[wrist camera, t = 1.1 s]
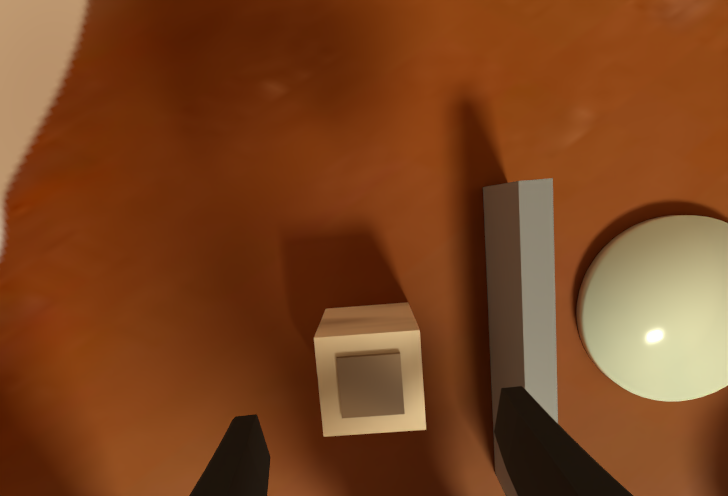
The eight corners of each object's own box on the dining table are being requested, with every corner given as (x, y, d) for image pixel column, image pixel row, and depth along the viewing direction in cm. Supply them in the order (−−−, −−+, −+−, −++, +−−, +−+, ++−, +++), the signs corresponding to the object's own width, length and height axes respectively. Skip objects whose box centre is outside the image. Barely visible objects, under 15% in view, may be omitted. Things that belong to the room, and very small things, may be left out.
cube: (413, 380, 22) (426, 432, 17) (333, 386, 23) (323, 439, 17) (408, 302, 22) (420, 331, 17) (325, 308, 22) (312, 339, 17)
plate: (758, 387, 22) (773, 394, 21) (577, 400, 22) (585, 407, 22) (767, 207, 21) (782, 207, 20) (575, 222, 21) (582, 223, 20)
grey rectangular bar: (519, 471, 23) (560, 544, 18) (495, 473, 23) (530, 546, 18) (508, 184, 21) (552, 178, 16) (482, 187, 21) (518, 181, 16)
